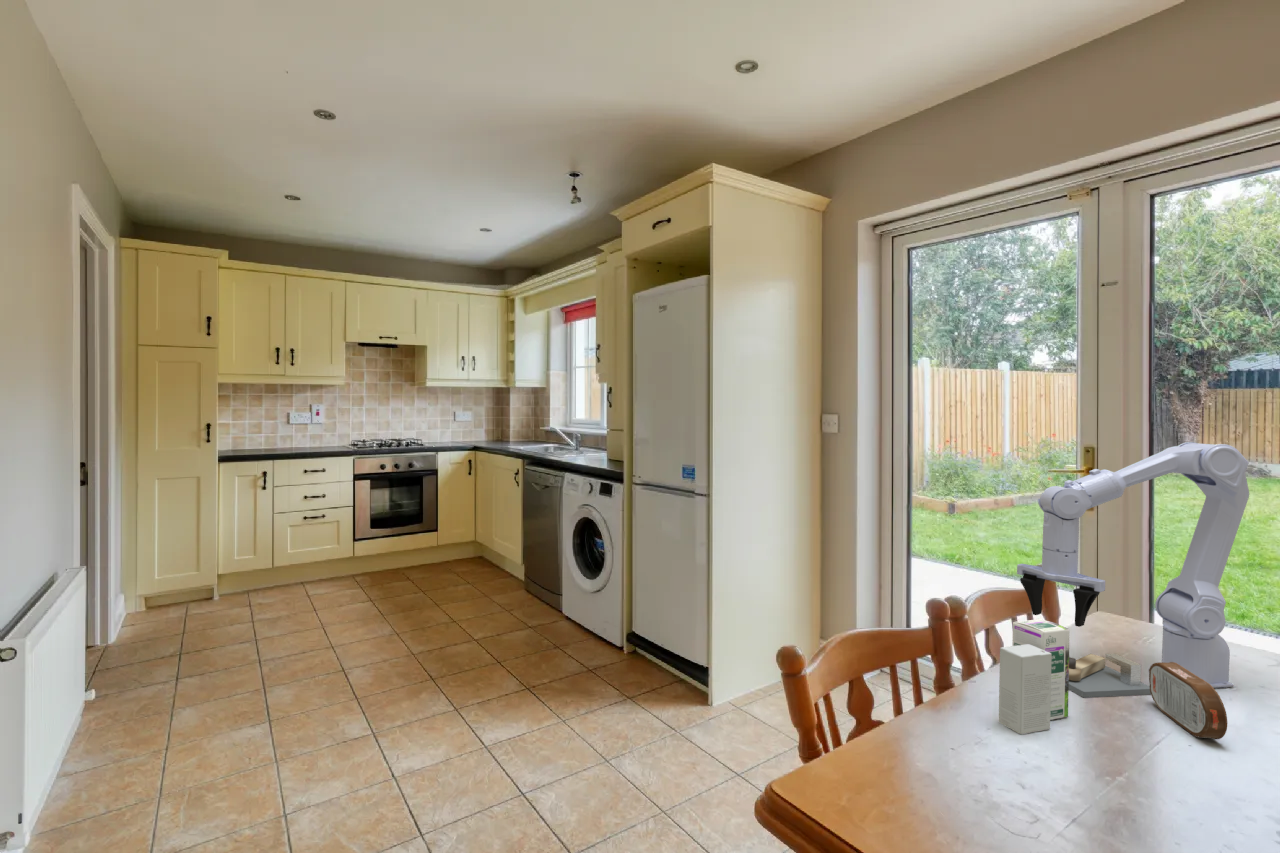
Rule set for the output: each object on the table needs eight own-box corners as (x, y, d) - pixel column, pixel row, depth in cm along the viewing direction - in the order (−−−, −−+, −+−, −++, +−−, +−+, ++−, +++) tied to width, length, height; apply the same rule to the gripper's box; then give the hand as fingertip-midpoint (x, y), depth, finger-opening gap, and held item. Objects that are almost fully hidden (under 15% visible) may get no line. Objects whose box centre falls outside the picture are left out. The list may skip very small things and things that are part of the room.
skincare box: (1026, 717, 100) (1028, 643, 100) (1050, 730, 96) (1053, 653, 96) (996, 721, 98) (998, 646, 98) (1020, 735, 94) (1022, 657, 94)
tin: (1228, 750, 91) (1231, 693, 91) (1203, 747, 92) (1206, 691, 92) (1164, 703, 106) (1166, 654, 106) (1143, 701, 107) (1145, 652, 106)
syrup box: (1042, 723, 98) (1045, 631, 98) (1009, 706, 104) (1012, 619, 104) (1068, 718, 100) (1071, 628, 100) (1034, 701, 106) (1037, 616, 105)
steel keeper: (1114, 673, 116) (1115, 653, 116) (1140, 685, 111) (1141, 664, 111) (1104, 673, 116) (1105, 653, 115) (1130, 685, 110) (1131, 665, 110)
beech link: (1076, 682, 111) (1076, 663, 111) (1057, 676, 113) (1058, 657, 113) (1106, 667, 117) (1107, 650, 117) (1088, 662, 120) (1089, 644, 120)
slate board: (1100, 668, 120) (1101, 663, 120) (1155, 694, 109) (1155, 688, 109) (1035, 671, 118) (1035, 666, 118) (1083, 697, 108) (1083, 691, 108)
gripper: (1010, 544, 124) (1007, 612, 124) (1094, 559, 111) (1091, 634, 112) (1027, 540, 127) (1025, 606, 128) (1111, 555, 115) (1108, 628, 116)
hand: (1057, 619), depth 120 cm, fingers open, 7 cm apart
